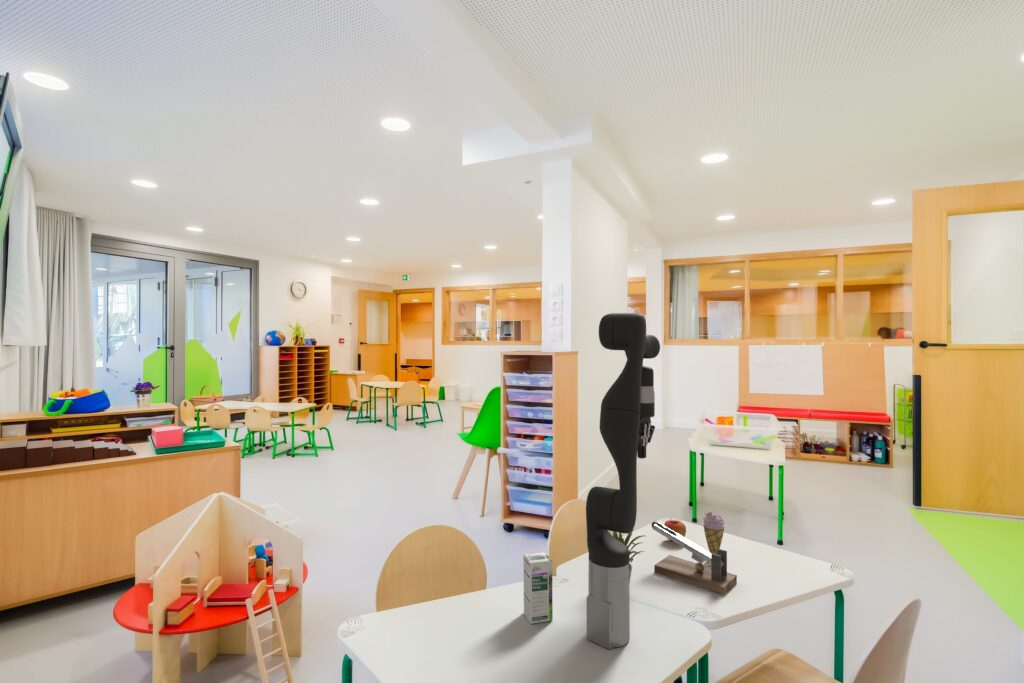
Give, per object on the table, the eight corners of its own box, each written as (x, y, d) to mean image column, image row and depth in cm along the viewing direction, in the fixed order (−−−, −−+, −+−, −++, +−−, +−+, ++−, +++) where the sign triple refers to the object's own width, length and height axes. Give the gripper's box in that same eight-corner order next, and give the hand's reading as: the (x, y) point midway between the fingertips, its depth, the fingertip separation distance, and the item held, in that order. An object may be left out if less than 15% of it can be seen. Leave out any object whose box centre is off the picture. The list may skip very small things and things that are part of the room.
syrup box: (530, 625, 114) (530, 562, 115) (522, 612, 120) (523, 553, 120) (552, 621, 116) (553, 560, 116) (544, 609, 121) (544, 550, 122)
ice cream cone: (697, 556, 155) (697, 508, 155) (712, 552, 157) (711, 506, 158) (714, 564, 149) (714, 515, 149) (729, 560, 151) (728, 512, 152)
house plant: (661, 595, 129) (661, 533, 129) (620, 607, 123) (620, 542, 123) (625, 573, 142) (625, 517, 142) (587, 583, 135) (587, 524, 136)
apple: (690, 544, 164) (690, 521, 164) (670, 546, 162) (670, 522, 163) (678, 536, 171) (678, 514, 171) (659, 538, 170) (659, 515, 170)
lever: (718, 574, 134) (721, 563, 133) (647, 531, 149) (650, 521, 148) (722, 570, 136) (725, 559, 135) (652, 528, 151) (655, 518, 150)
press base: (723, 594, 129) (723, 560, 130) (654, 571, 143) (654, 541, 143) (736, 582, 137) (736, 550, 137) (669, 561, 150) (669, 532, 151)
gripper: (642, 403, 140) (642, 463, 139) (663, 400, 150) (663, 456, 149) (619, 401, 145) (619, 459, 145) (641, 398, 155) (641, 453, 154)
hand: (641, 457), depth 147 cm, fingers closed
